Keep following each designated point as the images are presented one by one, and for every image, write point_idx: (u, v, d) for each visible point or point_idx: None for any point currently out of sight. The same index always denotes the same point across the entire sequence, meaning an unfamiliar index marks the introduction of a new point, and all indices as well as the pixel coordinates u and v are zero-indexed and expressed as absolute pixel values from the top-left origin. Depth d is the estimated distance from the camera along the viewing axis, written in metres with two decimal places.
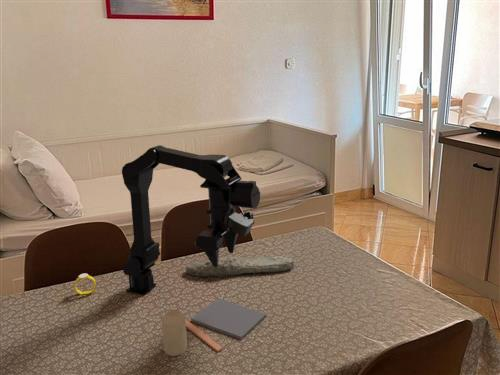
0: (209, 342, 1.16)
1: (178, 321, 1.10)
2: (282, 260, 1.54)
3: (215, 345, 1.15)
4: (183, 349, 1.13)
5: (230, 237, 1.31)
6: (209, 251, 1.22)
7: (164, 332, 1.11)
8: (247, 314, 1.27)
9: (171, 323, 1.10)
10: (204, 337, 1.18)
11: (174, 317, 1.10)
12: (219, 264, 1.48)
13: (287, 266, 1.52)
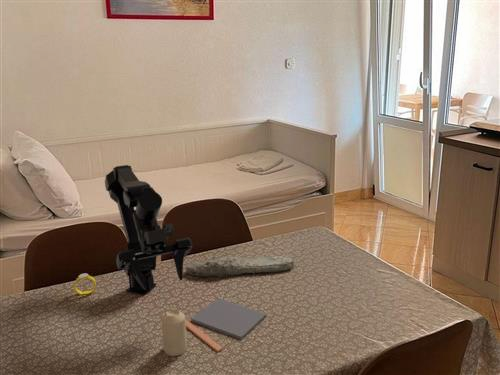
0: (209, 342, 1.16)
1: (178, 321, 1.10)
2: (282, 260, 1.54)
3: (215, 345, 1.15)
4: (183, 349, 1.13)
5: (177, 263, 1.22)
6: (135, 273, 1.18)
7: (164, 332, 1.11)
8: (247, 314, 1.27)
9: (171, 323, 1.10)
10: (204, 337, 1.18)
11: (174, 317, 1.10)
12: (219, 264, 1.48)
13: (287, 266, 1.52)
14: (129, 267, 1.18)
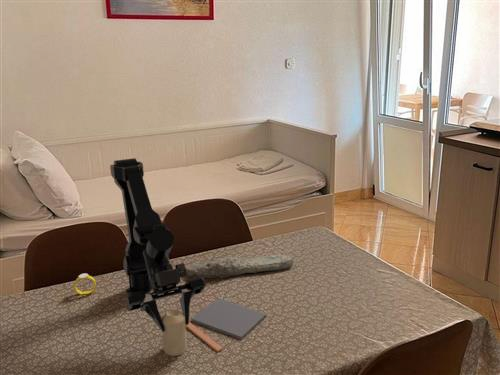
0: (209, 342, 1.16)
1: (178, 321, 1.10)
2: (281, 258, 1.55)
3: (215, 345, 1.15)
4: (183, 349, 1.13)
5: (183, 306, 1.15)
6: (152, 314, 1.12)
7: (164, 332, 1.11)
8: (247, 314, 1.27)
9: (171, 323, 1.10)
10: (204, 337, 1.18)
11: (174, 317, 1.10)
12: (221, 265, 1.47)
13: (287, 264, 1.53)
14: (146, 308, 1.12)
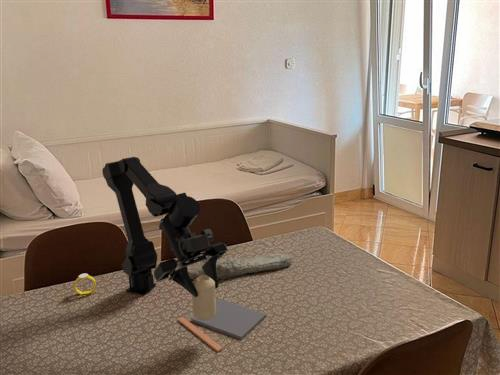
0: (209, 342, 1.16)
1: (210, 285, 1.13)
2: (280, 257, 1.56)
3: (215, 345, 1.15)
4: (214, 312, 1.15)
5: (209, 271, 1.17)
6: (182, 281, 1.13)
7: (196, 297, 1.13)
8: (247, 314, 1.27)
9: (205, 287, 1.12)
10: (204, 337, 1.18)
11: (206, 281, 1.13)
12: (223, 266, 1.46)
13: (286, 262, 1.55)
14: (176, 276, 1.13)
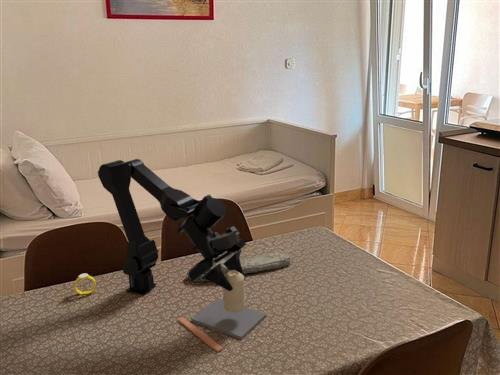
0: (209, 342, 1.16)
1: (242, 278, 1.21)
2: (280, 256, 1.57)
3: (215, 345, 1.15)
4: (244, 303, 1.24)
5: (234, 266, 1.25)
6: (215, 278, 1.20)
7: (230, 291, 1.20)
8: (247, 314, 1.27)
9: (238, 281, 1.20)
10: (204, 337, 1.18)
11: (238, 275, 1.21)
12: (224, 267, 1.46)
13: (286, 262, 1.55)
14: (209, 274, 1.19)
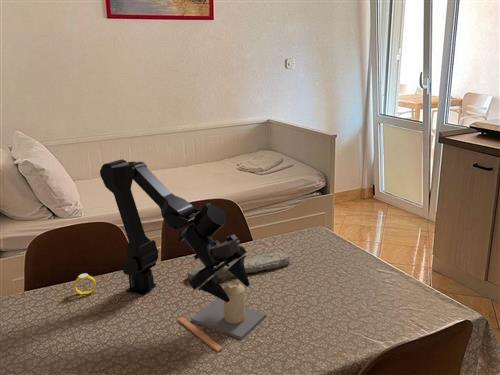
0: (209, 342, 1.16)
1: (242, 289, 1.22)
2: (279, 256, 1.57)
3: (215, 345, 1.15)
4: None
5: (238, 271, 1.27)
6: (212, 289, 1.19)
7: (231, 303, 1.21)
8: (247, 314, 1.27)
9: (238, 292, 1.21)
10: (204, 337, 1.18)
11: (238, 287, 1.22)
12: (224, 267, 1.46)
13: (286, 261, 1.56)
14: (206, 285, 1.18)
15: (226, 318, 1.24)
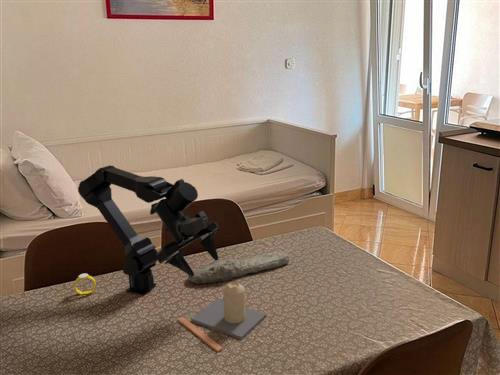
0: (209, 342, 1.16)
1: (242, 289, 1.22)
2: (278, 255, 1.58)
3: (215, 345, 1.15)
4: None
5: (208, 246, 1.30)
6: (178, 263, 1.24)
7: (231, 303, 1.21)
8: (247, 314, 1.27)
9: (238, 292, 1.21)
10: (204, 337, 1.18)
11: (238, 287, 1.22)
12: (225, 268, 1.45)
13: (285, 260, 1.56)
14: (172, 259, 1.23)
15: (226, 318, 1.24)
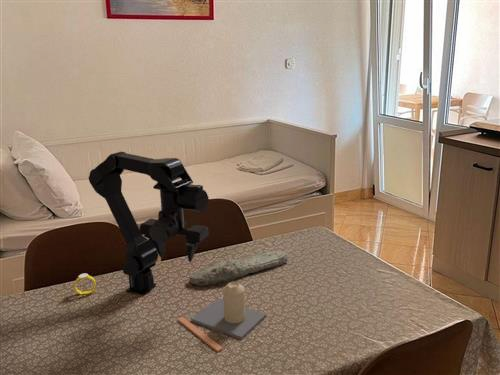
0: (209, 342, 1.16)
1: (242, 289, 1.22)
2: (277, 254, 1.58)
3: (215, 345, 1.15)
4: None
5: None
6: None
7: (231, 303, 1.21)
8: (247, 314, 1.27)
9: (238, 292, 1.21)
10: (204, 337, 1.18)
11: (238, 287, 1.22)
12: (228, 268, 1.45)
13: (284, 259, 1.57)
14: None
15: (226, 318, 1.24)
